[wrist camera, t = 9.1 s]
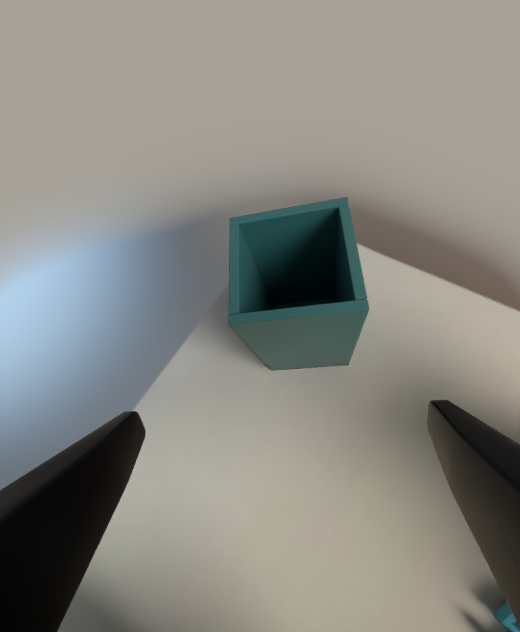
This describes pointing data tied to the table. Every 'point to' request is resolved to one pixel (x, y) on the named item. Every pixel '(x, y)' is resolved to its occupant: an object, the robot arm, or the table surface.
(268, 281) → the bin
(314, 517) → the table surface
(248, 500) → the table surface
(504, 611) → the nameplate
